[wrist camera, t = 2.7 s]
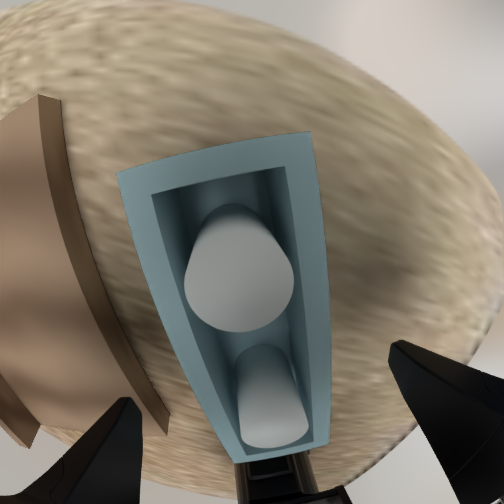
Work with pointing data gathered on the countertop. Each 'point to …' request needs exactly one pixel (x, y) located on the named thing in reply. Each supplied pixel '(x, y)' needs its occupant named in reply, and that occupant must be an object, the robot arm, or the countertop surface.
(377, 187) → the countertop surface
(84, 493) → the robot arm
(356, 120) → the countertop surface
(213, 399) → the tray
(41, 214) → the walnut shelf
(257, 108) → the countertop surface
